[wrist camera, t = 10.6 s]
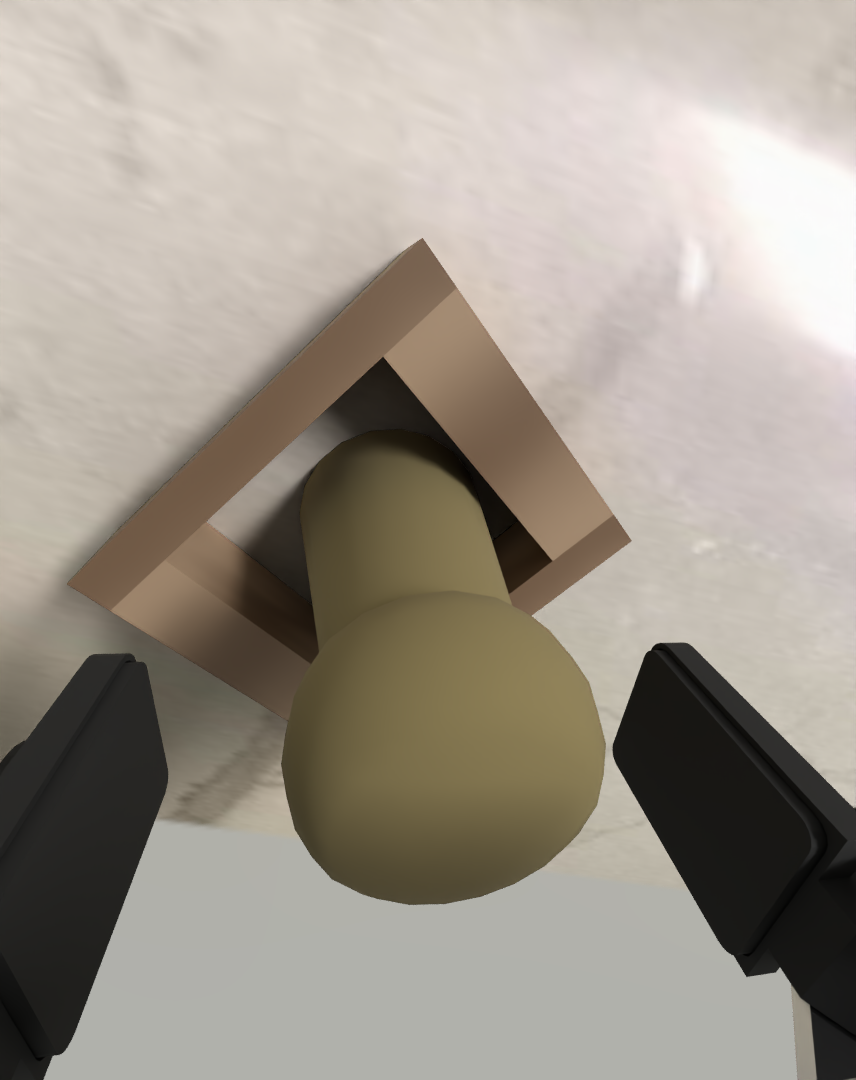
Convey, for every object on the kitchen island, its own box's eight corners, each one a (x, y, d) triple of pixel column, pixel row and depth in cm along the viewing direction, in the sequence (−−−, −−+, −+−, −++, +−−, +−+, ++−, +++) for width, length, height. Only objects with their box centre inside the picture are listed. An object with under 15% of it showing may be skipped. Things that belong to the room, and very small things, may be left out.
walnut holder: (587, 502, 17) (631, 540, 15) (342, 692, 19) (343, 755, 17) (405, 249, 13) (422, 238, 10) (115, 532, 15) (66, 584, 12)
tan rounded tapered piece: (298, 591, 17) (242, 988, 7) (300, 420, 14) (218, 684, 5) (463, 594, 18) (604, 937, 8) (493, 437, 15) (746, 674, 6)
